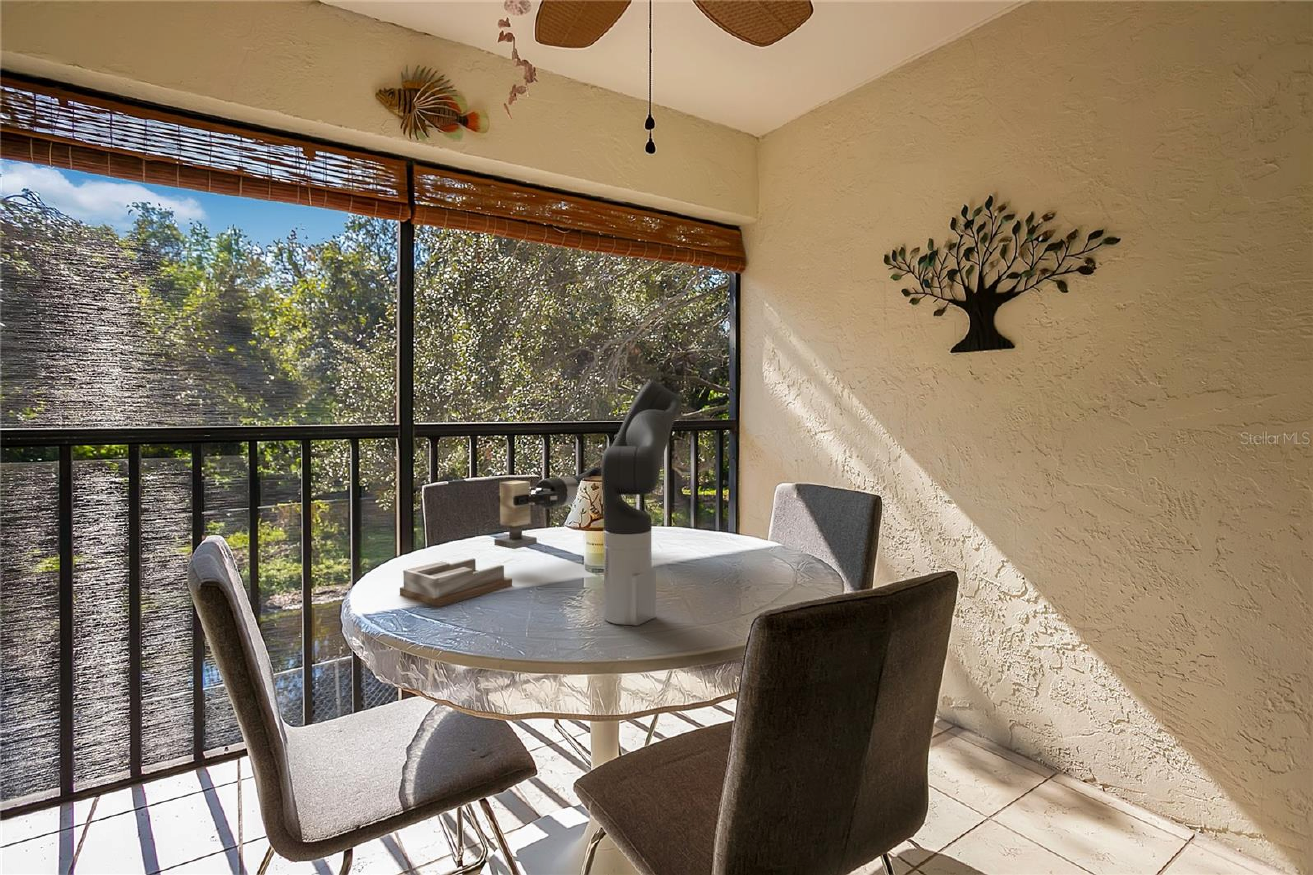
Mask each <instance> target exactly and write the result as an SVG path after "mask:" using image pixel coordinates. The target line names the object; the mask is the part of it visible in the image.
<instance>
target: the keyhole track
mask: <svg viewBox="0 0 1313 875" xmlns="http://www.w3.org/2000/svg"><path fill="white" fill-rule="evenodd" d="M476 563H477V562H476V558H473V557H472V558H469V559H465V560H461V561H456V562H452V563H450V562H446V561H437V562H433V563H428V564H424V565H421V566H417V567H411V568H407V569H404V570H403V571H402V572H403V575H402V576H403V586H401V587H399V595H400V596H403V597H407V598H410V599H413V600H416V601H420V602H422V603H426V604H429V605H432V606H435V607H437V608H442V607H445V606H447V605H452V604H454V603H457V602H462V601H465V600H469V599H471V598H475V597H478V596H481V595H484V594H488V593H492V592H494V591H498V590H501V589H505V588H508V587H512V586H513V579H512V578H510V577H505V565H504V564H499V565H496V566H492V567H491V566H490V567H489V568H484V569H480V570H477V569H476V565H477V564H476Z"/></svg>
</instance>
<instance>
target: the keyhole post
mask: <svg viewBox="0 0 1313 875" xmlns="http://www.w3.org/2000/svg"><path fill="white" fill-rule="evenodd" d="M530 487H531V482H530V481H526V480H523V481H522V480H516V479H515V480H509V481H508V480H507V481H502V482H501V481H500V482H499V494H500V503H499V521H500V522H499V523H500V525H503V526H508V535H507V536H502V537H498V538H494V539H493V540H494V546H496V547H503V548H507V549H510V550H511V549H512V550H516V549H521V548H525V547H528V546H529V547H530V546H532V545H533V546H534V545H537V544H538V543H537V542H538V539H537V537H536V536H529V535H523V526H525V525H529V524H530V525H531V505H529V504H524V505H518V506H515V505H514V504H513V497H514V496H519V495H527V494H529V493H530Z"/></svg>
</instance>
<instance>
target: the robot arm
mask: <svg viewBox="0 0 1313 875" xmlns="http://www.w3.org/2000/svg"><path fill="white" fill-rule="evenodd" d="M681 408H682V400H681V397H679V396H678V394H676V393H675V392H674V391H671V390H670V389H668V388H666V386H664V385H662V384H660V383H659V382H657V381H654V380H648V381H647V382H646V383H645V384H644V385H643V386H642V387H641V389H640V390H639V392H638V393H637V395H636V397H635V399H634V400H633V402H632V404H631V406H630V408H629V410H628V412H627V414H626V416H625V418H624V419H623V422H622V424H621V426H620V429H619V431H618V433H617V434H616V437H615V439H614V441H613V443H612V445H611V446H608V447H606V448H605V450H604V451H603V454H602V457H601V463H600V464H601V466H594V467H592V468H589V469H588V470H587V471H584V472H583V473H581V474H578V475H572V476H555V477H549V478H544V479H541V480H539V481H538V483H537V484H536V486H530V493H529V494H527V495H519V496H514V497H513V504H514V505H515V506H518V505H524V504H529V505H530V506H531V505H534V506H540V507H541V508H543V509H547V510H549V509H554V508H559V507H565V506H570V505H571V504H574V503H573V502H574V499H575V497H576V495H577V487H578V484H579V482H580V481H581V480H582V479H583V478H585V477H591V476H602V490H603V504H602V505H603V506H602V509H603V510H602V511H603V512H602V514H603V515H602V516H603V618H604V620H605V621H607V623H608V622H609V623H612V624H615V625H624V626H625V625H631V626H635V627H636V626H640V625H642V624H644V623H647V622H648V621H651V620H652V619H655V618H657V617H656V616H657V615H656V614H657V607H656V606H657V602H656V600H657V596H656V595H657V590H656V589H657V588H656V587H657V578H656V577H657V574H656V573H657V571H656V569H655V568H653V567H652V523H653V522H652V517H651V515H650V514H649V512H648V513H647V511H645V510H641V509H638V508H636V507H634V506H632V505H630V504H629V503H627V502H626V501H625V500H624V498H623V497H622V495H630V496H631V495H638V496H642V495H643V496H644V495H649V494H651V493H654V491H655V489H656V488H657V485H658V482H659V478H660V475H661V474H660V473H661V468H662V461H663V456H664V453H665V450H666V448H667V445H668V443H669V440H670V436H671V431H672V428H673V425H674V423H675V421H676V419H677V417H678V415H679V414H680V413H679V412H680V411H681ZM497 503H498V504H500V493H499V494H497Z"/></svg>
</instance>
